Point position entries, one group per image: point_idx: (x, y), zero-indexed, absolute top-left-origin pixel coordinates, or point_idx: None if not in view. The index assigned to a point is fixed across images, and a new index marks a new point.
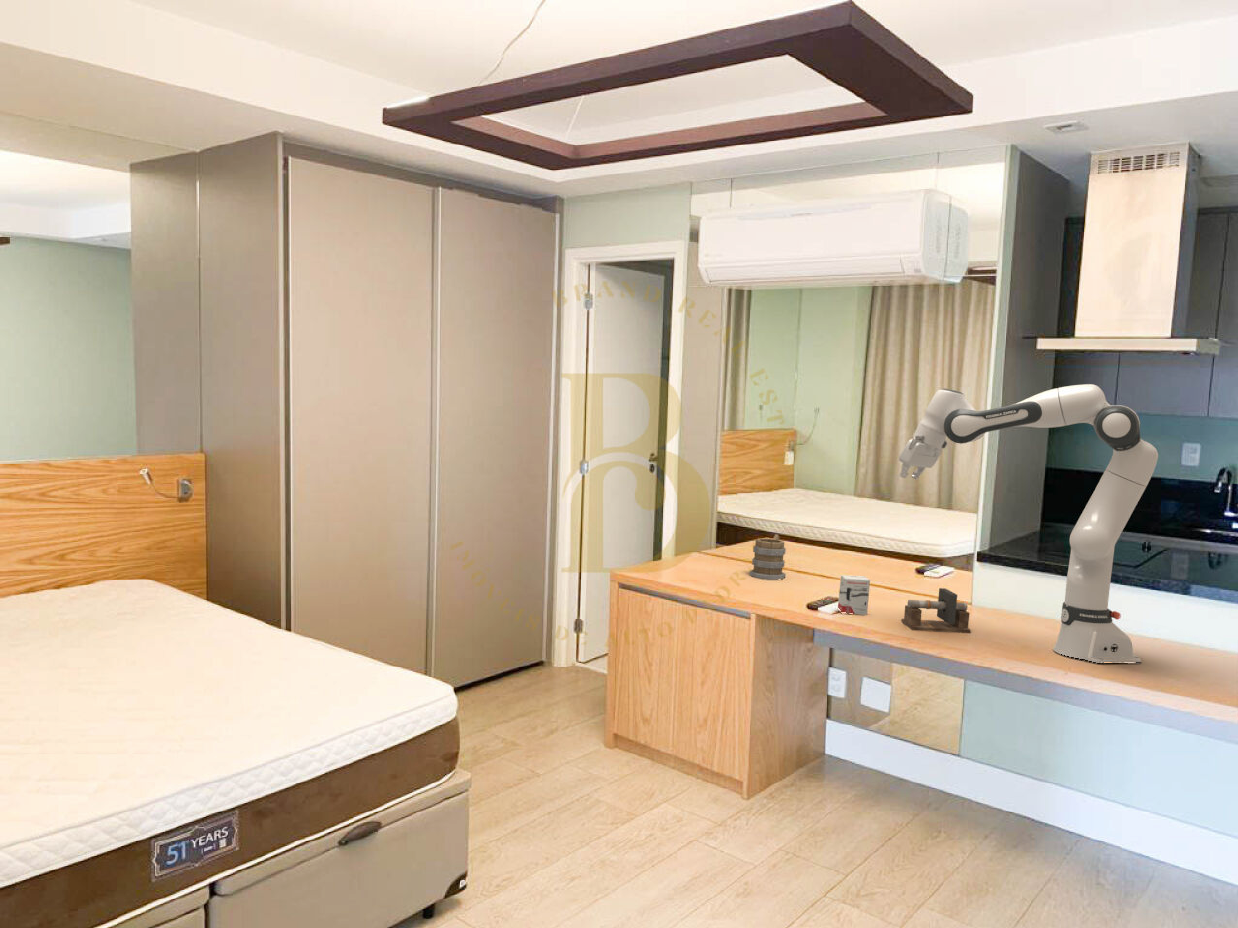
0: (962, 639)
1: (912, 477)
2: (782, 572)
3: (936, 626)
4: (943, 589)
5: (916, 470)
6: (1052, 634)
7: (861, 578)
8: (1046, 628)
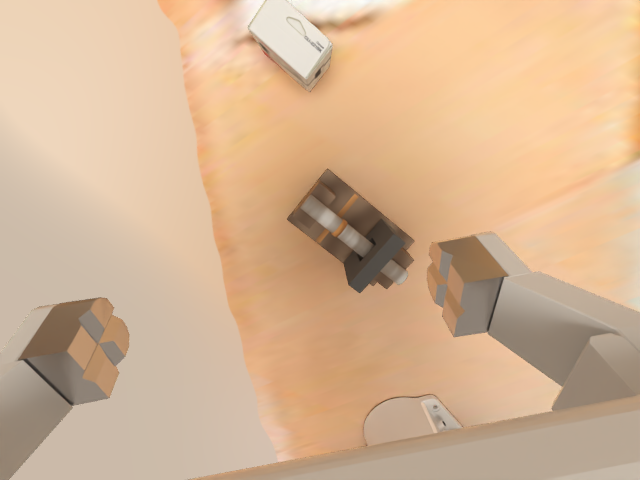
0: (313, 298)
1: (431, 251)
2: None
3: (334, 240)
4: (388, 247)
5: (539, 304)
6: (499, 358)
7: (299, 52)
8: None
